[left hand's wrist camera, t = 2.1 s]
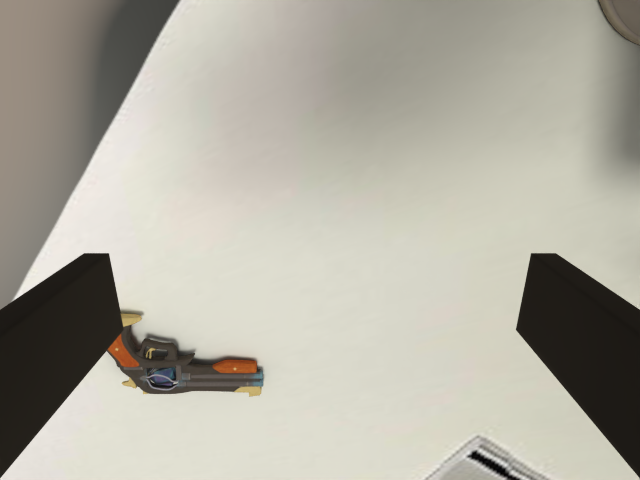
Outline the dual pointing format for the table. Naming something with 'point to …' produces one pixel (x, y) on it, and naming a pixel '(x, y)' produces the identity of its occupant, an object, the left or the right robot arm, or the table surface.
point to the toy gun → (179, 368)
